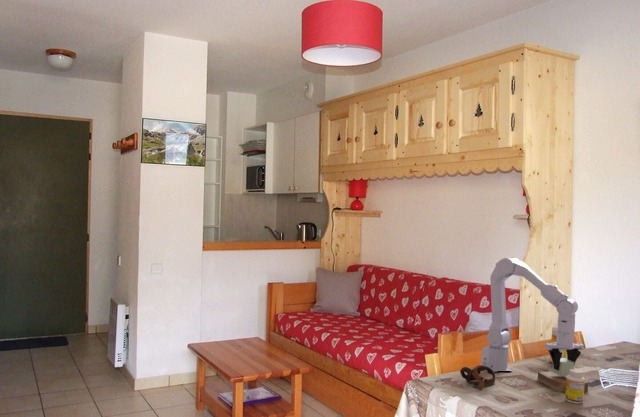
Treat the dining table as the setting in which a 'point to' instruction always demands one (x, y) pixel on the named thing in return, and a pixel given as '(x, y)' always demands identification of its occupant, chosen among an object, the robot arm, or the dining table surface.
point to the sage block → (564, 367)
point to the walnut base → (555, 381)
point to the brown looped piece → (478, 376)
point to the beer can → (554, 338)
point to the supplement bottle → (575, 386)
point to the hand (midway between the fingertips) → (563, 369)
